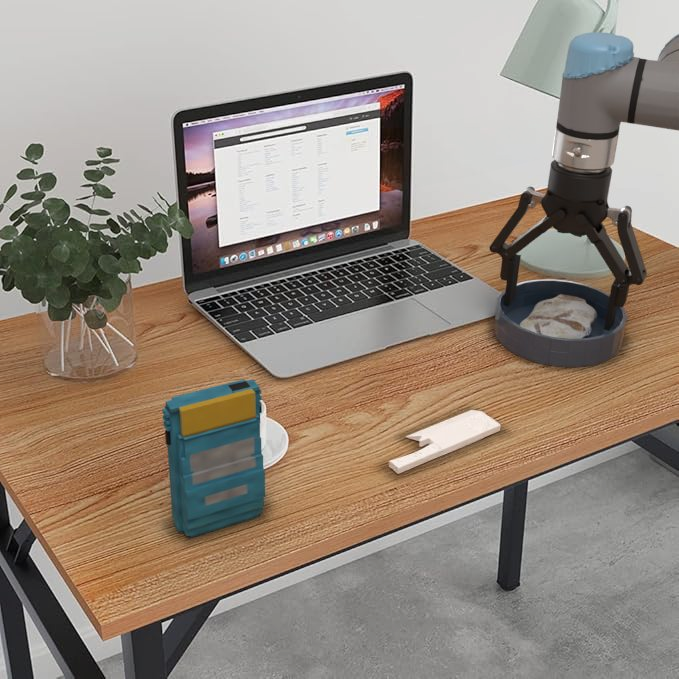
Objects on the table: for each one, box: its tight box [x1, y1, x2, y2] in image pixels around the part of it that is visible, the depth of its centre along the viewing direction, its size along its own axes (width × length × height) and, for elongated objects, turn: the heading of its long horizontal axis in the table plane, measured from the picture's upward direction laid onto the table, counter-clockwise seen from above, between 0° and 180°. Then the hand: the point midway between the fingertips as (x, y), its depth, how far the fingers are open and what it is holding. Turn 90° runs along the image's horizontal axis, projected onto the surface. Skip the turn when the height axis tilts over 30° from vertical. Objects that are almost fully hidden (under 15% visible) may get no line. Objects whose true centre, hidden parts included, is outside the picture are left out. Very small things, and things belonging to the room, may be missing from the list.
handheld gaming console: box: [161, 378, 266, 539], centre depth 105 cm, size 10×4×15 cm, turn 118°
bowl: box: [493, 278, 628, 368], centre depth 143 cm, size 17×17×4 cm
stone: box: [520, 294, 597, 339], centre depth 143 cm, size 12×9×3 cm
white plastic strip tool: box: [388, 409, 502, 475], centre depth 121 cm, size 5×15×1 cm, turn 124°
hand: (558, 313), depth 142 cm, fingers open, 13 cm apart
